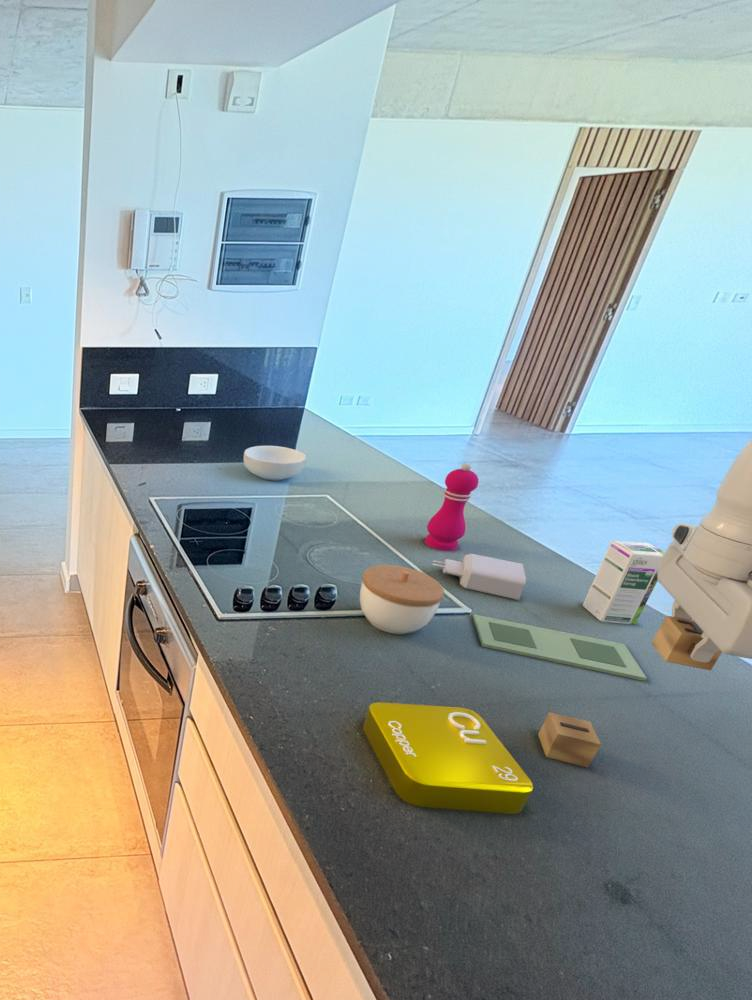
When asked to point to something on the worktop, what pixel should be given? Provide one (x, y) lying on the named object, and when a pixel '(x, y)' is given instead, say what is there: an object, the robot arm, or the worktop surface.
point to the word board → (558, 646)
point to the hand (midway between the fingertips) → (686, 645)
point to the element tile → (445, 758)
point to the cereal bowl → (274, 462)
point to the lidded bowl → (399, 598)
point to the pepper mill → (452, 510)
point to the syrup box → (624, 582)
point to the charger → (487, 575)
